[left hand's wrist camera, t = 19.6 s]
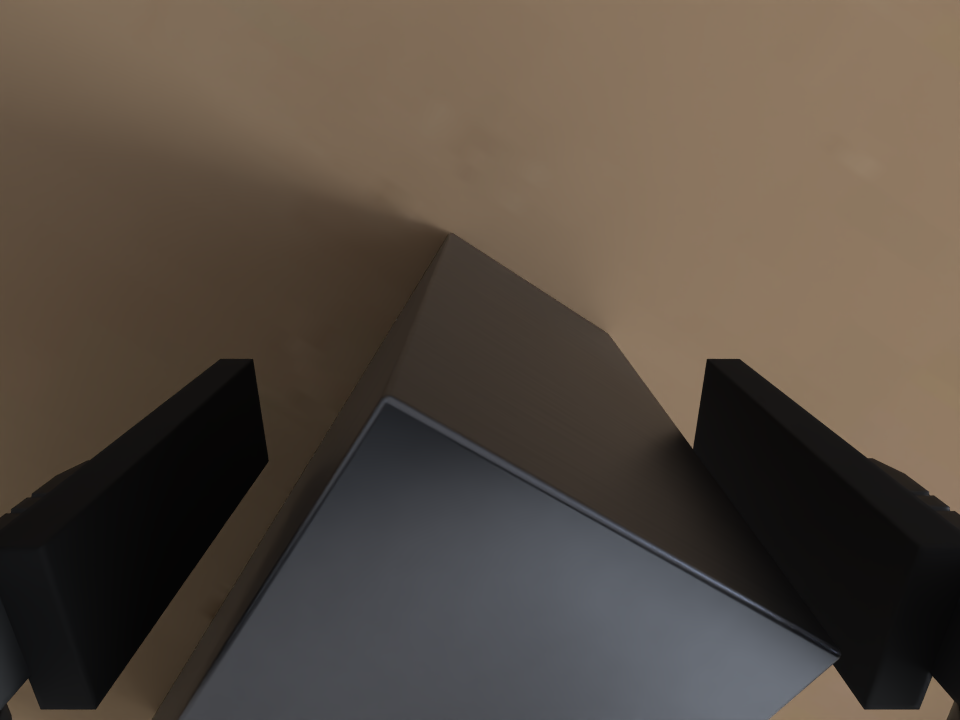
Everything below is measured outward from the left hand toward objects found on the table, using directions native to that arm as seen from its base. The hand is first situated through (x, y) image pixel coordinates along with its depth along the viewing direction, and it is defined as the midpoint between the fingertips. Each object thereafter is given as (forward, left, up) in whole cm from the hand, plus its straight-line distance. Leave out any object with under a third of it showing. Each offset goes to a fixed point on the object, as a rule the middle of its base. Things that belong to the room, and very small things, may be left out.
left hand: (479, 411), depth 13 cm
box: (+3, -10, -5) cm, 11 cm away
